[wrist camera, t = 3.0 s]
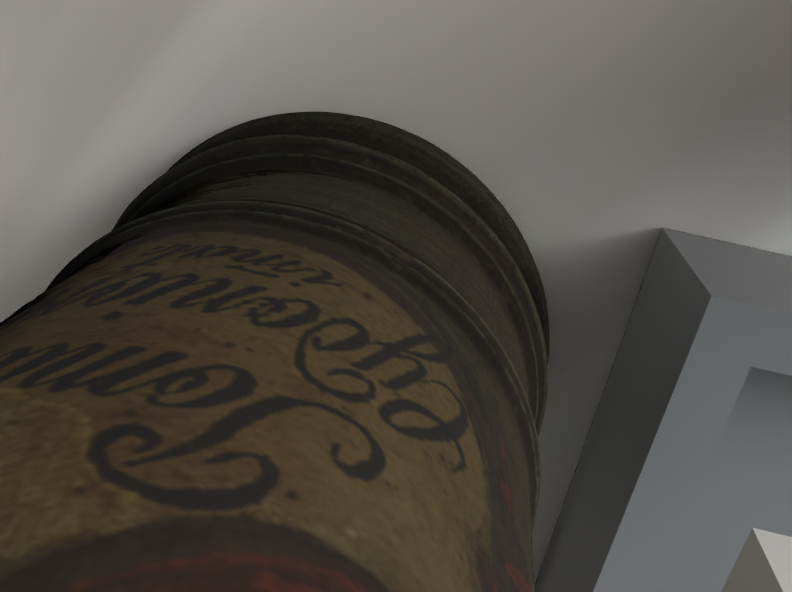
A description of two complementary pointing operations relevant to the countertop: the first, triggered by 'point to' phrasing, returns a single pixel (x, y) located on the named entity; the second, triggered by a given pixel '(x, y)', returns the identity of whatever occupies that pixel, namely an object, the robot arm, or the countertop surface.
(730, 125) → the countertop surface
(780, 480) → the tray
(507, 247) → the container
